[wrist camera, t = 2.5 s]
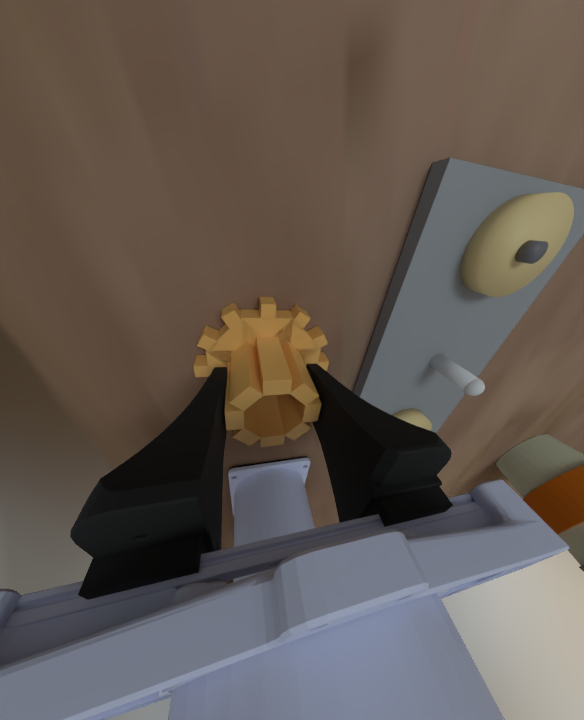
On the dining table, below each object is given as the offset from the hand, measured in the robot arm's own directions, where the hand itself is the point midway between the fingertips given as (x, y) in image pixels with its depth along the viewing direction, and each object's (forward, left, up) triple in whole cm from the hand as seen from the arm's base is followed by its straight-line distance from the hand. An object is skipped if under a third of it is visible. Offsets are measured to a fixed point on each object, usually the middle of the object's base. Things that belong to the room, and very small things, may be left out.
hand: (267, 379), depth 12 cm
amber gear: (0, 0, -2) cm, 2 cm away
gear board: (0, -13, -2) cm, 13 cm away
